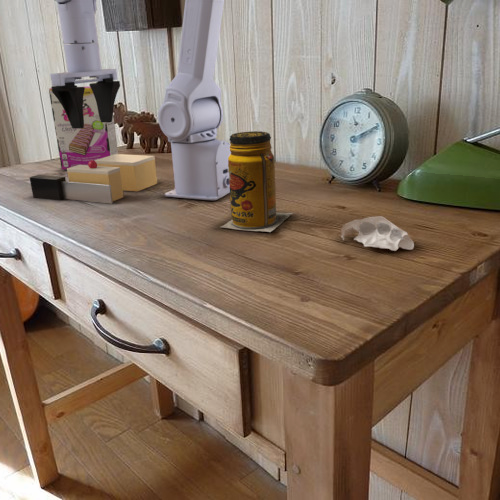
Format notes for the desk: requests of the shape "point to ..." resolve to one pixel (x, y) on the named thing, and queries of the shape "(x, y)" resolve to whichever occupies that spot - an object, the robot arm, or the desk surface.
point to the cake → (132, 170)
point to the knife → (69, 189)
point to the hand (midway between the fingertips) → (92, 125)
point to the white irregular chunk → (378, 233)
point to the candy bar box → (83, 133)
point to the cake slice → (98, 177)
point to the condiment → (252, 183)
